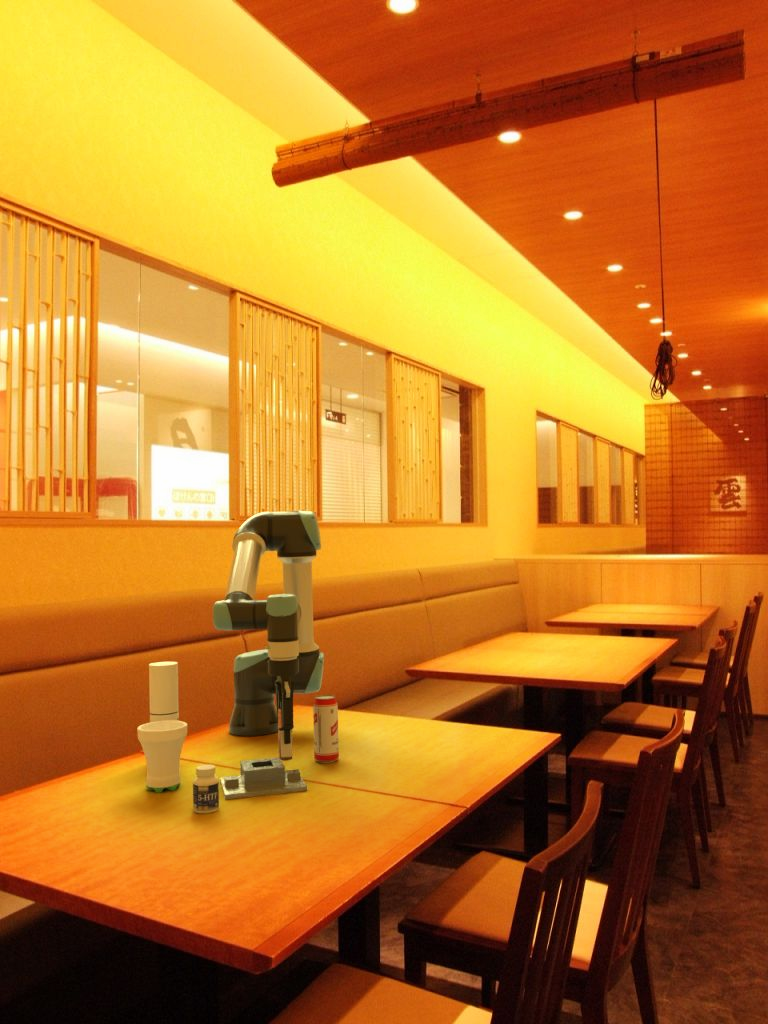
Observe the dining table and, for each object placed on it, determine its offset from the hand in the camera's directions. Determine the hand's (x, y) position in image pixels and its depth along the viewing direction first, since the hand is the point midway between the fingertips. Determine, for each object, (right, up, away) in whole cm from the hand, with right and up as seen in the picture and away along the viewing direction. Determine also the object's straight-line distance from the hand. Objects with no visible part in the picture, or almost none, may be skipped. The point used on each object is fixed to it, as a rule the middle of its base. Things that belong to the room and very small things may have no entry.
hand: (285, 754), depth 203 cm
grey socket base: (-4, -3, -13) cm, 14 cm away
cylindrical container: (-32, -5, +11) cm, 35 cm away
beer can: (+9, -4, +8) cm, 13 cm away
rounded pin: (0, -1, 0) cm, 1 cm away
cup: (-26, -4, -12) cm, 30 cm away
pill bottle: (-13, -3, -29) cm, 32 cm away
